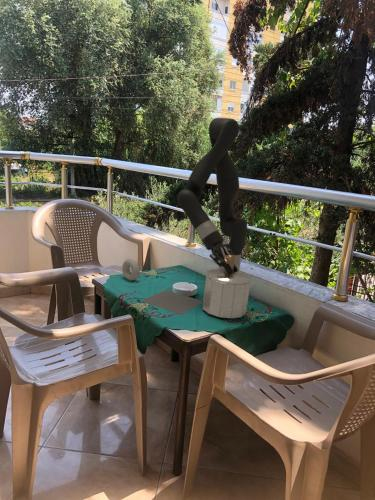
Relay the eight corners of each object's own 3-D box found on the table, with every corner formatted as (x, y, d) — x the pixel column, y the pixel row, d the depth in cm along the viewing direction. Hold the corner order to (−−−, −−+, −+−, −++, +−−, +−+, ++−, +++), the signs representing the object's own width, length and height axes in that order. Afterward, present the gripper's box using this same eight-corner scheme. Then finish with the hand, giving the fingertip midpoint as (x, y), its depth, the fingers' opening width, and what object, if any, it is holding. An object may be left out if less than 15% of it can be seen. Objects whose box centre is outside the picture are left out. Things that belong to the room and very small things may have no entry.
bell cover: (215, 297, 170) (221, 247, 164) (252, 309, 161) (260, 256, 156) (194, 308, 156) (201, 253, 150) (233, 322, 148) (241, 264, 142)
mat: (166, 291, 176) (166, 289, 176) (204, 303, 167) (204, 301, 167) (140, 302, 161) (140, 300, 161) (180, 316, 152) (180, 314, 152)
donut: (119, 277, 187) (121, 256, 184) (125, 276, 189) (127, 255, 187) (134, 284, 181) (135, 262, 178) (140, 282, 183) (141, 261, 181)
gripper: (207, 231, 149) (232, 271, 146) (224, 227, 161) (248, 264, 158) (193, 242, 153) (218, 281, 150) (211, 237, 165) (234, 274, 162)
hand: (233, 272), depth 154 cm, fingers closed on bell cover, 3 cm apart
